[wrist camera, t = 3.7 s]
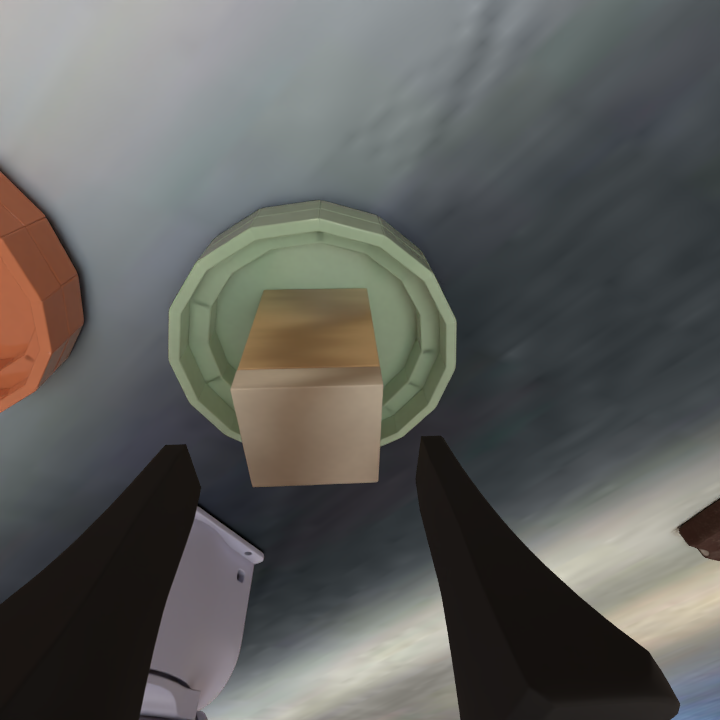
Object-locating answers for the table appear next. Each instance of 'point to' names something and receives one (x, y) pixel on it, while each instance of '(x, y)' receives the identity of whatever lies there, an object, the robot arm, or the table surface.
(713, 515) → the ice cream bar
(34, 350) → the terracotta bowl
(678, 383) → the table surface
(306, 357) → the box
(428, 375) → the celadon bowl
